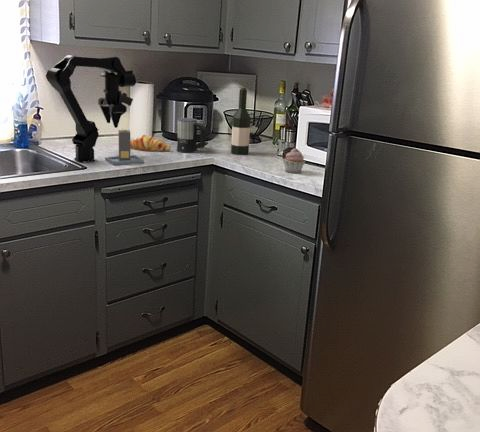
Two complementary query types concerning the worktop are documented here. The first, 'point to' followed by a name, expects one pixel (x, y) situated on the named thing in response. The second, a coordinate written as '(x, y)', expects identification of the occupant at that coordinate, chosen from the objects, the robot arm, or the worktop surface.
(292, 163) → the cupcake
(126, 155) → the caddy
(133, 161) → the tray
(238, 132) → the wine bottle
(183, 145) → the milk frother
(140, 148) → the croissant
